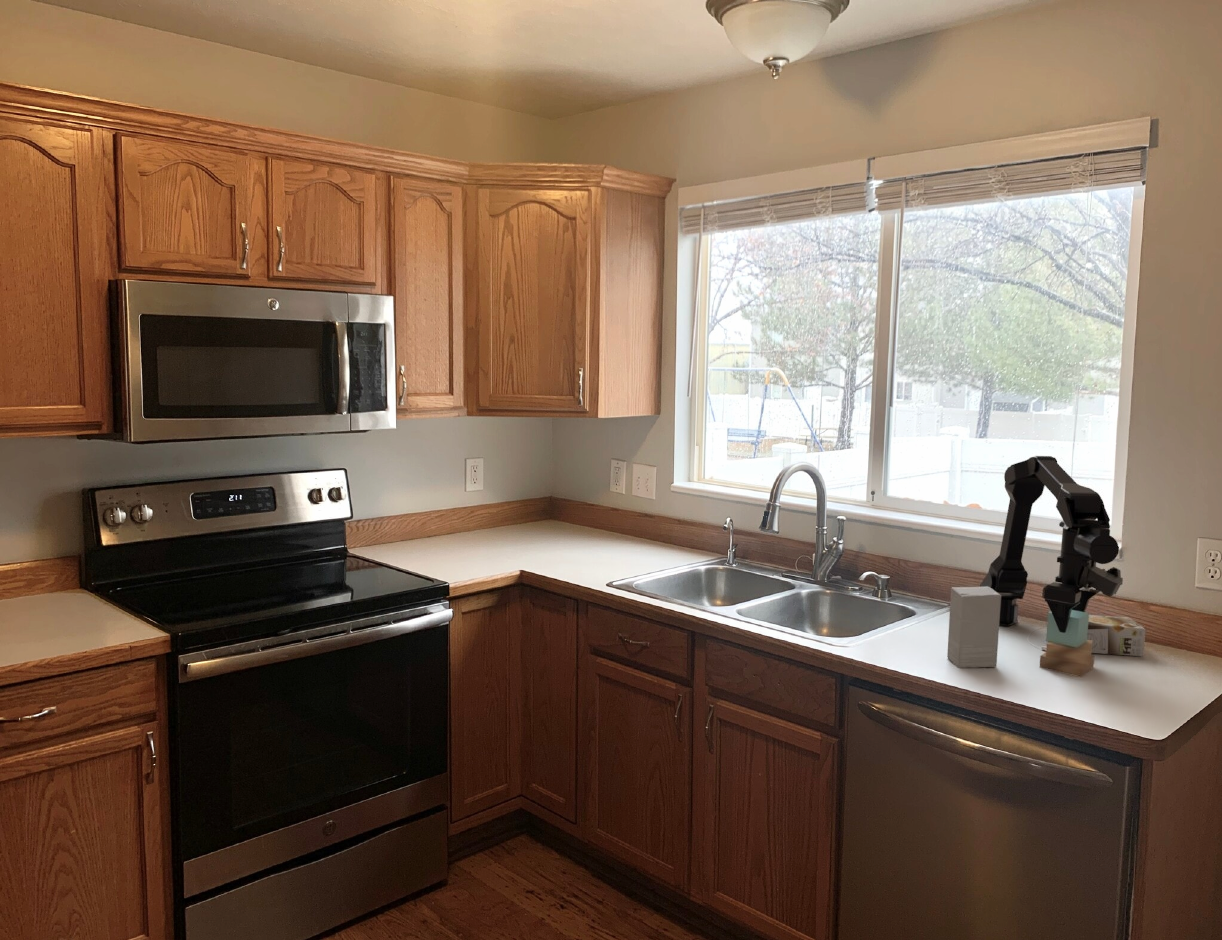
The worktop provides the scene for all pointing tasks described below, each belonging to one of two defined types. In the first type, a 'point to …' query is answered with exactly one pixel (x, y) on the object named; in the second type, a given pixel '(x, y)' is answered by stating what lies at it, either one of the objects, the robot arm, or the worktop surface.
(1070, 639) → the teal cube
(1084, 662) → the tower top
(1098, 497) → the robot arm
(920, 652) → the worktop surface
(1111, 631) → the coffee box
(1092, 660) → the tower base
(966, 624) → the skincare box
